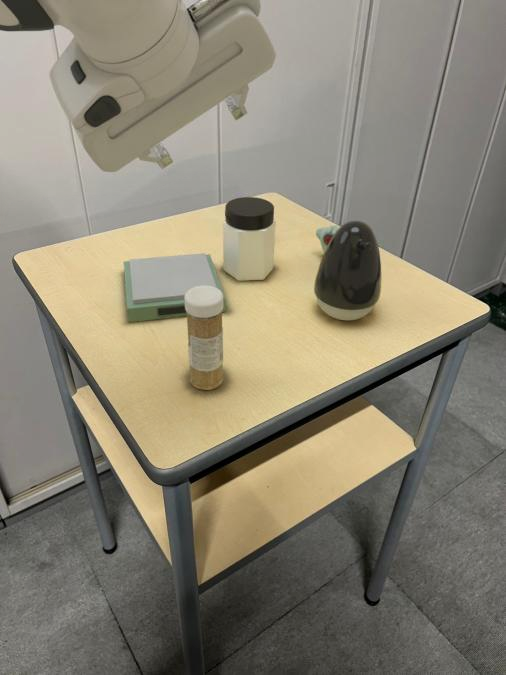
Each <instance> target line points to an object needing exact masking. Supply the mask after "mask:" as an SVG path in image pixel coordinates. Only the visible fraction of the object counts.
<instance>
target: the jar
mask: <svg viewBox="0 0 506 675" xmlns="http://www.w3.org/2000/svg"><path fill="white" fill-rule="evenodd" d="M224 209H225V210H224V217H225V218H224V220H223V221H222V252H223V253H222V254H223V255H222V256H223V258H222V261H223V265H222V266H223V271H224V272H225V273H227V274H228V275H230V276H231V277H232V278H233V279H235V280H237V281H239V282H241V281H264V280H265V279H266V277H268V275H269V274H270V273H271V272H272V270H274V263H275V262H274V261H275V242H276V241H275V240H276V224H277V220H276V219H274V218H275V206H274V204H273V203H272V202H270V201H269V200H267V199H264V198H261V197H254V196H244V197H243V196H242V197H236V198H233V199H231V200H229V201H228V202H226V204H225V208H224Z"/></svg>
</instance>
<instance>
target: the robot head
mask: <svg viewBox="0 0 506 675" xmlns="http://www.w3.org/2000/svg"><path fill="white" fill-rule="evenodd" d="M339 228H340V227H339V226H338V225H332V224H331V225H329V226H326V227H317V229H316V231H315V236H316V237H317V239H318V240H319V242H320V246H321V249H322V252H323V253H324V252H325V250H326V248H327V246H328V244H329V242H330V240H331V239H332V237H333V235H334V234H335V233H336V231H337V230H338V229H339Z"/></svg>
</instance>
